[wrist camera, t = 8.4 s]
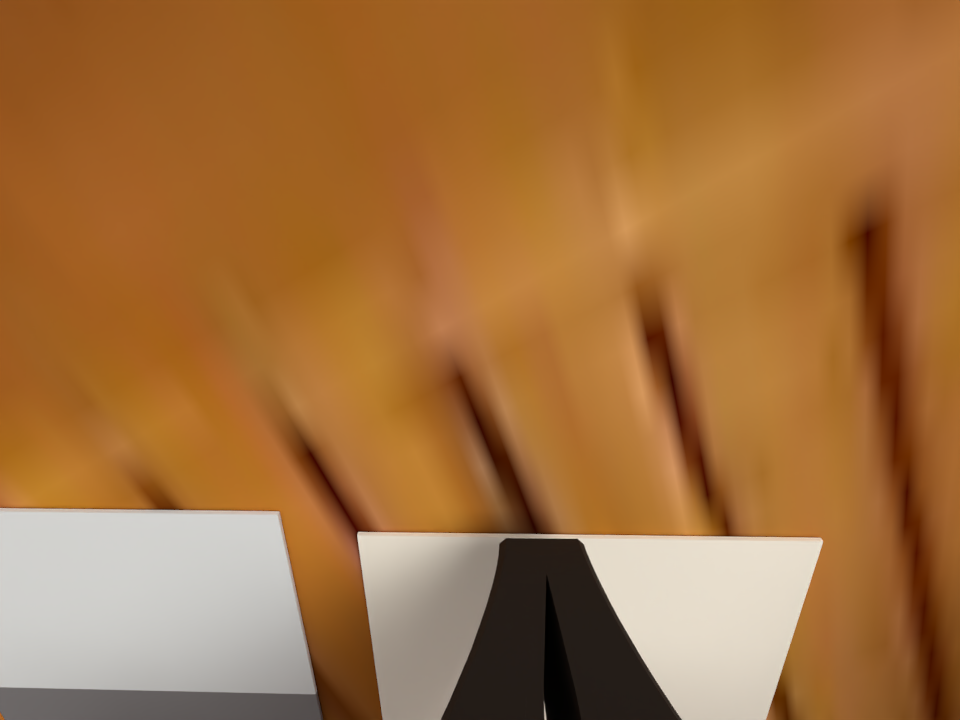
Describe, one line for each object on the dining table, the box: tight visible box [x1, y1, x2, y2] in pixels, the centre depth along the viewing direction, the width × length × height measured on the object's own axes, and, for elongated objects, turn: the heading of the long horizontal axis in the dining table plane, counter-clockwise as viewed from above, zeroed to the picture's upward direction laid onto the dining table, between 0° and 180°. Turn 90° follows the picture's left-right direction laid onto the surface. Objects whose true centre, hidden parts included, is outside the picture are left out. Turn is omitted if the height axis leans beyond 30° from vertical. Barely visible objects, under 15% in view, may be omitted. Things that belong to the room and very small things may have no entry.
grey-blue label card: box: [0, 508, 323, 720], centre depth 13 cm, size 8×8×1 cm
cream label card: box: [357, 532, 823, 720], centre depth 13 cm, size 9×9×1 cm
